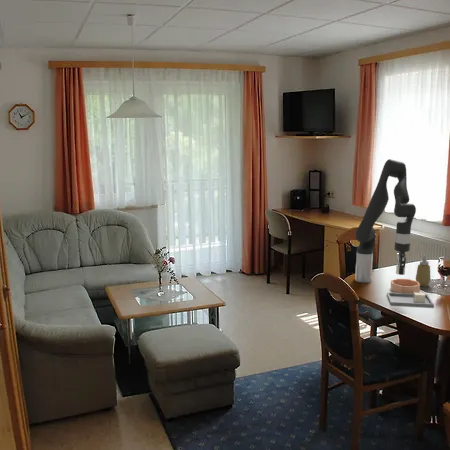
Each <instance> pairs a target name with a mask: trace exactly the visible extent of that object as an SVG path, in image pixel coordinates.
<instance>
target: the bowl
mask: <svg viewBox="0 0 450 450" xmlns="http://www.w3.org/2000/svg"><path fill="white" fill-rule="evenodd" d="M390 290H391V292H392V293H410V294H414V293H421V286H420V284H419V282H417V281H416V280H413V279H410V278H396V279H391V280H390Z"/></svg>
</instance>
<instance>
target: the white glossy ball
mask: <svg viewBox="0 0 450 450" xmlns="http://www.w3.org/2000/svg"><path fill="white" fill-rule="evenodd" d="M395 274H396V275H399V265H398V264H397V265H396V270H395ZM405 274H406V267H405V268H404V272H403V275H404V276H405ZM403 275H402V276H403Z"/></svg>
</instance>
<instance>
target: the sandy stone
mask: <svg viewBox="0 0 450 450" xmlns="http://www.w3.org/2000/svg"><path fill="white" fill-rule="evenodd" d="M425 294H426V293H424V292H420V293H414V298H413V300H414V302H420V303H425Z"/></svg>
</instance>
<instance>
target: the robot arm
mask: <svg viewBox="0 0 450 450" xmlns="http://www.w3.org/2000/svg"><path fill="white" fill-rule="evenodd" d="M389 177H392V178H395V179H397V180H398V181H397V183H396V185H395V186H394V188H393V195H394V197H393V198H394V199H395V200H394V208H393V214H394V215H395V217H397V218H406V219H404V220H401V221H398V222H397V223H396V230H395V231H396V232H395V237H394V251H397V254H396V255H397V257H396V258H397V259H396V263H397V265H399V274H398V276H399V275H400V276H403V272H404V268H405V269H406V262H407V254H406V252H410V250H411V232H412V231H411V230H412V229H411V228H412V223H413V220H414V218H415V215H416V212H417V208H416V206H415V204H414V203H410V195H409V191H408V187H407V186H408V185H407V167H406V164H405V163H404V162H403V161H399V160H396V159H393V158H392V159H391V158H390V159H387V160H386V161H385V162H384V165H383V167H382V170H381V173H380V176H379V179H378V182H377V185H376V187H375V190H374V192H373V193H372V196H371V198H370V200H369V203H368V206H367V208H366V210H365V212H364V215H363V218H362V220H361V221H360V223H359V225H358V226H357V229H356V231H355V239H356V241H357V242H359V244H358V246H357V248H356V261H355V262H356V263H355V275H354V276H355V282H357V283H364V284H365V283H371V282H372V278H373V257H374V249H375V244H376V243H375V242H376V231H375V228H374V225H375V223H376V222H377V221H378V219H379V218H380V217H381V215H382V214H384V213H383V212H384V211H385V210H386V208H387V205H388V202H389V199H390V198H389V191H388V185H387V184H388V180H389Z"/></svg>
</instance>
